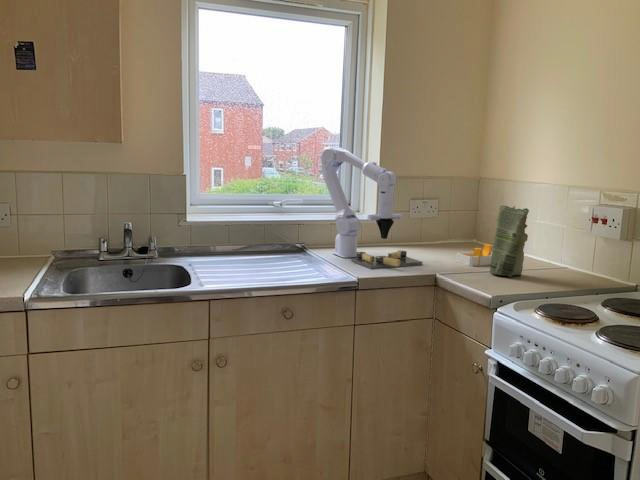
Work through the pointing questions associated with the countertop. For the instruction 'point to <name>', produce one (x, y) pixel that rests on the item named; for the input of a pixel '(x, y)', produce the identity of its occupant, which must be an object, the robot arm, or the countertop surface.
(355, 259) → the levelling plate
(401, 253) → the far knob
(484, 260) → the parts bin frame
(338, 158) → the robot arm
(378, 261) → the near knob
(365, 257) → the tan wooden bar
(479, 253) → the pipe clamp
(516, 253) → the pouch
